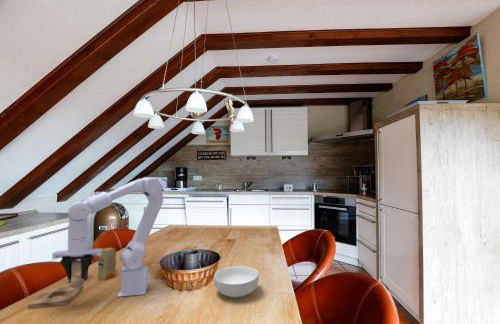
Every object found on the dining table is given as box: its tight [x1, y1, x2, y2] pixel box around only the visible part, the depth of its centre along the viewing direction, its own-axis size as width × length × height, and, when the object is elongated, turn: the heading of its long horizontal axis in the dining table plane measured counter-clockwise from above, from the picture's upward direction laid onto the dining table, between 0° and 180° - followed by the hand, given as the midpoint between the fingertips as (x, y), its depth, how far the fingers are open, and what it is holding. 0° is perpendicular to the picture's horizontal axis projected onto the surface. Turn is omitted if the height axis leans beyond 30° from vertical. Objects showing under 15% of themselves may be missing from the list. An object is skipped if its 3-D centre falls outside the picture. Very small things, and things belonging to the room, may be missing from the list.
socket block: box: [27, 285, 84, 310], centre depth 94 cm, size 12×12×2 cm
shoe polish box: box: [97, 246, 117, 282], centre depth 113 cm, size 5×5×12 cm
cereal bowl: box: [213, 265, 260, 299], centre depth 97 cm, size 17×17×7 cm
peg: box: [70, 260, 85, 288], centre depth 89 cm, size 4×4×8 cm
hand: (77, 278), depth 89 cm, fingers closed on peg, 4 cm apart
